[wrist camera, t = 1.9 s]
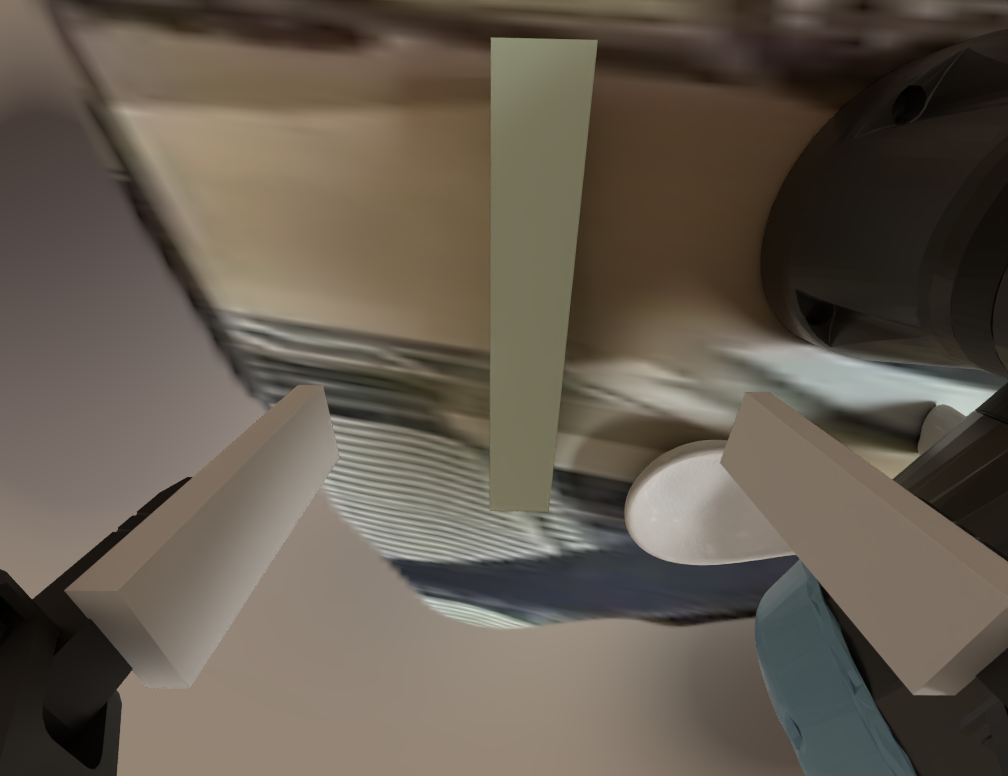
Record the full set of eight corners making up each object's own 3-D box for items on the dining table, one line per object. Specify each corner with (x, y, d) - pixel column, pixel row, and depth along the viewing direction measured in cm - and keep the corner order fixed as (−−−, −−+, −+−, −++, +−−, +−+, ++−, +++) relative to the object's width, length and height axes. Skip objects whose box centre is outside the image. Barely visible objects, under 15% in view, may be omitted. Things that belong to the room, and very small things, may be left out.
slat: (575, 81, 18) (597, 39, 13) (542, 464, 29) (548, 511, 24) (495, 79, 18) (490, 37, 13) (492, 463, 29) (489, 510, 24)
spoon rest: (625, 540, 33) (654, 622, 26) (601, 438, 28) (630, 508, 21) (918, 481, 29) (1033, 558, 23) (951, 351, 24) (1112, 404, 18)
